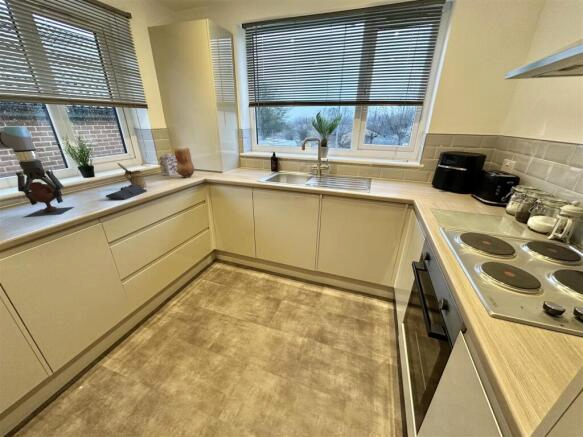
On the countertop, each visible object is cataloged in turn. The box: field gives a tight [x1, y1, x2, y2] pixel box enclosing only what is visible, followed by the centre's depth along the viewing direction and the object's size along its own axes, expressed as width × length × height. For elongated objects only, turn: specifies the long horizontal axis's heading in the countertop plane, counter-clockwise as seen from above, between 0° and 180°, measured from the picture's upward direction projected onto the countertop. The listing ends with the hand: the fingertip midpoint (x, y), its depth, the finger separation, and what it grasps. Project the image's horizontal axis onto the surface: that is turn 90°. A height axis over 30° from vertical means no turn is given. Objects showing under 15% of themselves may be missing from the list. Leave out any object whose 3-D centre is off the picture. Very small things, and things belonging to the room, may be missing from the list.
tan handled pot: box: [116, 162, 147, 189], centre depth 167 cm, size 9×14×18 cm, turn 119°
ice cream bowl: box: [28, 181, 59, 211], centre depth 123 cm, size 11×11×15 cm
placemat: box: [22, 206, 75, 219], centre depth 124 cm, size 16×14×1 cm
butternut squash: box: [173, 145, 195, 178], centre depth 195 cm, size 14×13×25 cm
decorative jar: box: [158, 152, 179, 177], centre depth 208 cm, size 12×12×18 cm
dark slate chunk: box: [105, 183, 148, 200], centre depth 152 cm, size 15×22×5 cm
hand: (47, 203), depth 124 cm, fingers closed on ice cream bowl, 11 cm apart
